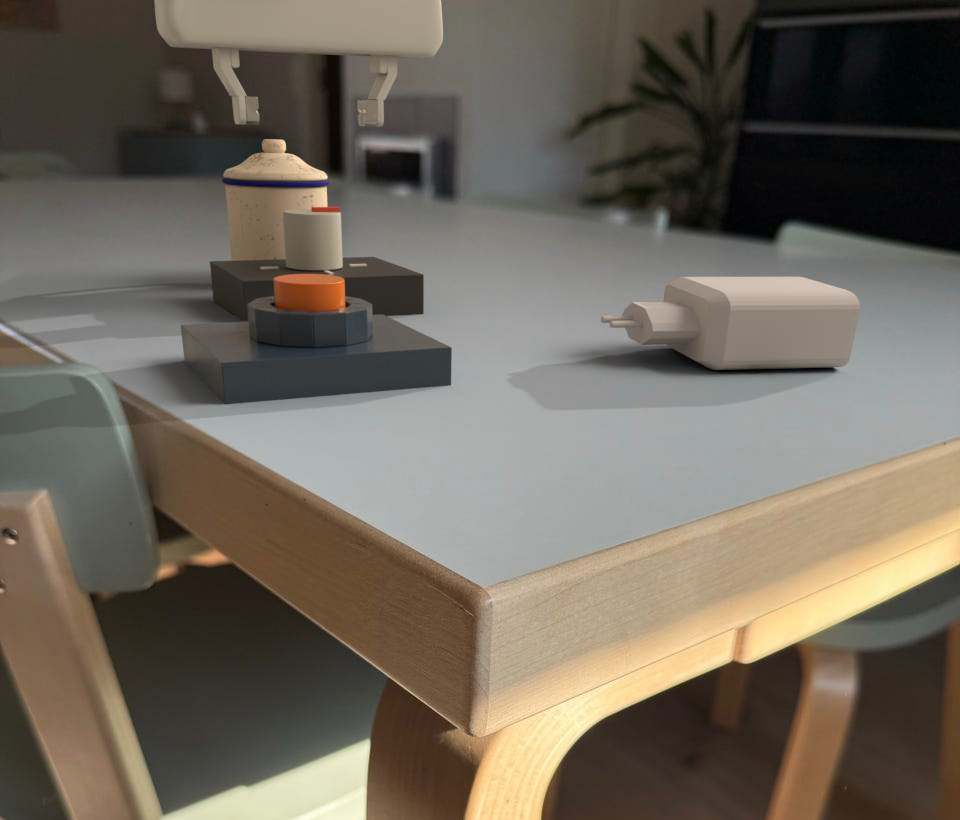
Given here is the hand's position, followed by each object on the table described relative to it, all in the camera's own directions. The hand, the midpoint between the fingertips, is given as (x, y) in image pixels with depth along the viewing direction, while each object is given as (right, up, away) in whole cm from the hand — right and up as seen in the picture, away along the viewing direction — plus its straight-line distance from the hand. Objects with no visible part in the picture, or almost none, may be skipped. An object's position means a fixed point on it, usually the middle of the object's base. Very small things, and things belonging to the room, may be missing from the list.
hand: (310, 125), depth 73 cm
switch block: (+3, -22, -14) cm, 26 cm away
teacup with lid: (-6, -5, +18) cm, 19 cm away
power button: (+3, -19, -16) cm, 25 cm away
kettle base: (-1, -11, +6) cm, 13 cm away
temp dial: (-1, -9, +5) cm, 10 cm away
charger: (+28, -19, -7) cm, 35 cm away
